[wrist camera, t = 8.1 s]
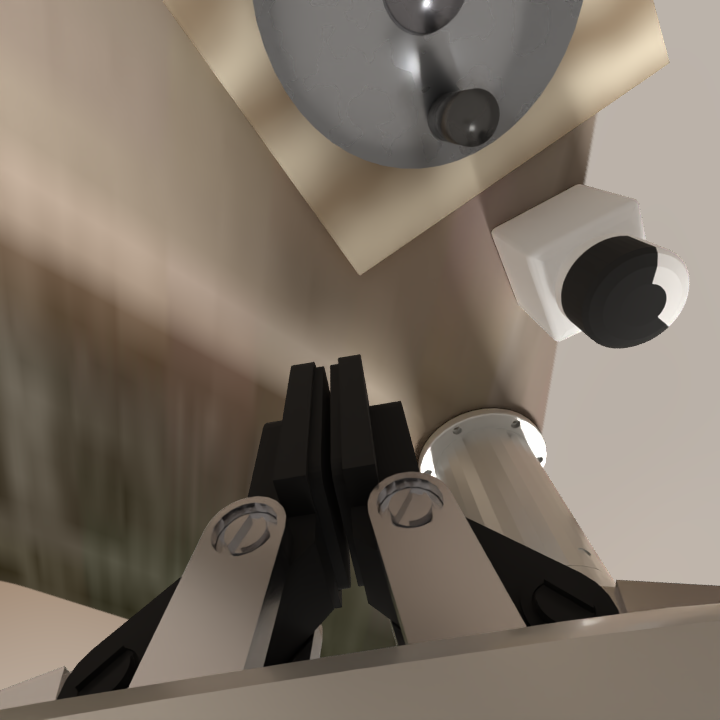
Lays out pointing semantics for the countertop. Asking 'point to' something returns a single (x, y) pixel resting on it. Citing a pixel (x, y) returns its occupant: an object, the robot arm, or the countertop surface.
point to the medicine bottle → (592, 269)
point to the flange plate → (415, 70)
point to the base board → (426, 185)
